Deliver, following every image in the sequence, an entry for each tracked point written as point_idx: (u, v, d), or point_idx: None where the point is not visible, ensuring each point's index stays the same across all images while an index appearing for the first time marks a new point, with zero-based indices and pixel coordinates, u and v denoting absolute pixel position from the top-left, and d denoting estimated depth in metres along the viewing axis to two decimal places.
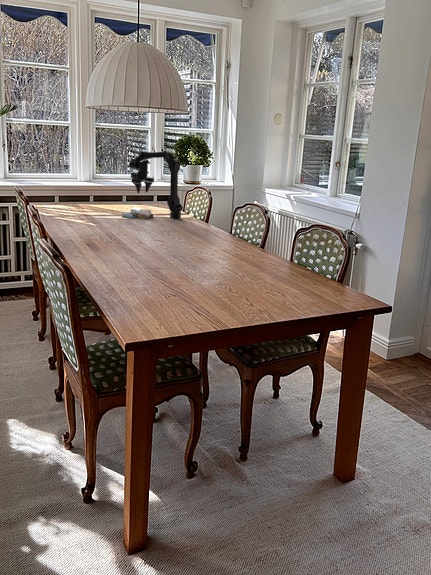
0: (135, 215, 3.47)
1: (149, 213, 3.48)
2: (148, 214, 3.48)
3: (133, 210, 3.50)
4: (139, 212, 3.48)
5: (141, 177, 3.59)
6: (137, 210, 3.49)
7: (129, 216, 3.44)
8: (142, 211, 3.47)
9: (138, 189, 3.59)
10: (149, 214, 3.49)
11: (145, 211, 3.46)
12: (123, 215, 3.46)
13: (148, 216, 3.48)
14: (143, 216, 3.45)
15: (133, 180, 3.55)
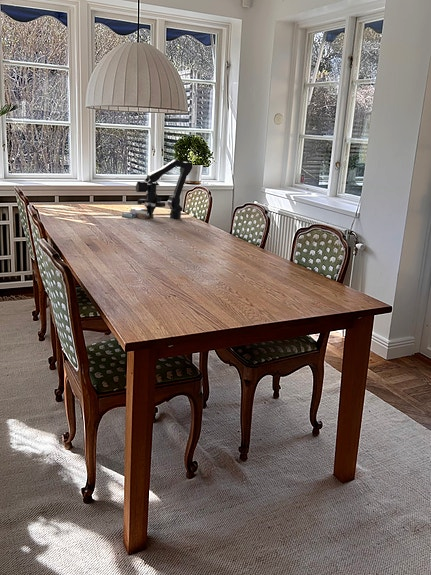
0: (135, 215, 3.47)
1: (148, 213, 3.49)
2: (148, 214, 3.48)
3: (133, 209, 3.51)
4: (139, 211, 3.49)
5: None
6: (137, 209, 3.50)
7: (129, 216, 3.44)
8: (142, 210, 3.48)
9: None
10: None
11: (145, 210, 3.47)
12: (123, 215, 3.46)
13: (147, 216, 3.49)
14: (143, 216, 3.45)
15: None
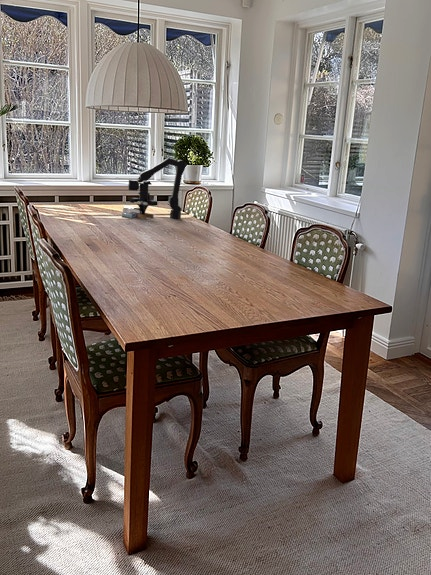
0: (135, 215, 3.47)
1: (141, 212, 3.52)
2: (140, 212, 3.51)
3: (125, 208, 3.54)
4: (132, 210, 3.51)
5: None
6: (129, 208, 3.52)
7: (129, 216, 3.44)
8: (134, 209, 3.51)
9: None
10: (141, 213, 3.52)
11: (137, 209, 3.50)
12: (123, 215, 3.46)
13: None
14: (143, 216, 3.45)
15: None
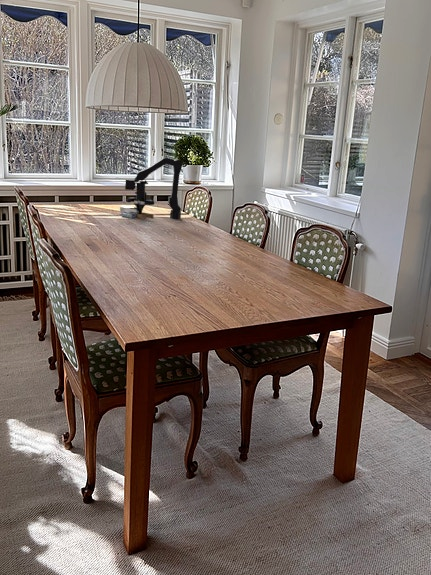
0: (135, 215, 3.47)
1: None
2: (137, 212, 3.52)
3: (122, 208, 3.55)
4: (129, 209, 3.52)
5: None
6: (126, 208, 3.54)
7: (129, 216, 3.44)
8: (131, 209, 3.52)
9: None
10: (138, 212, 3.53)
11: (134, 209, 3.51)
12: (123, 215, 3.46)
13: None
14: (143, 216, 3.45)
15: None
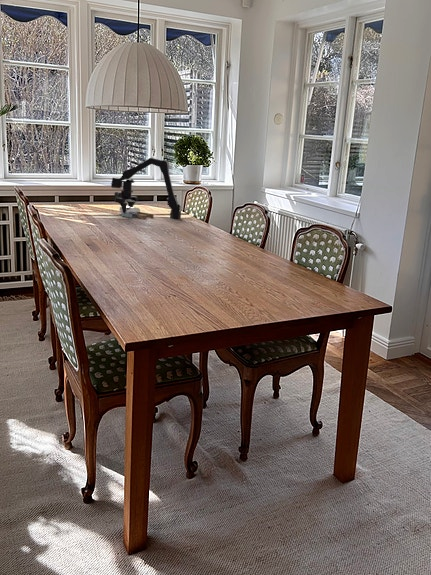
0: (135, 215, 3.47)
1: (137, 211, 3.53)
2: (137, 212, 3.52)
3: None
4: (128, 210, 3.52)
5: (125, 196, 3.51)
6: (126, 208, 3.53)
7: (129, 216, 3.44)
8: (131, 209, 3.52)
9: (123, 208, 3.52)
10: (138, 212, 3.53)
11: (134, 209, 3.51)
12: (123, 215, 3.46)
13: None
14: (143, 216, 3.45)
15: (116, 200, 3.47)
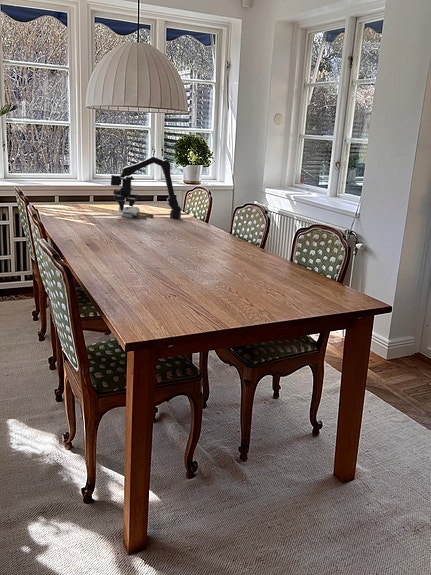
0: None
1: (137, 210, 3.44)
2: (136, 211, 3.43)
3: None
4: (127, 209, 3.44)
5: (124, 194, 3.42)
6: (125, 208, 3.45)
7: (129, 216, 3.44)
8: (130, 208, 3.43)
9: (121, 207, 3.42)
10: (137, 212, 3.44)
11: (133, 208, 3.42)
12: (123, 215, 3.46)
13: (136, 213, 3.44)
14: (143, 216, 3.45)
15: (116, 197, 3.38)
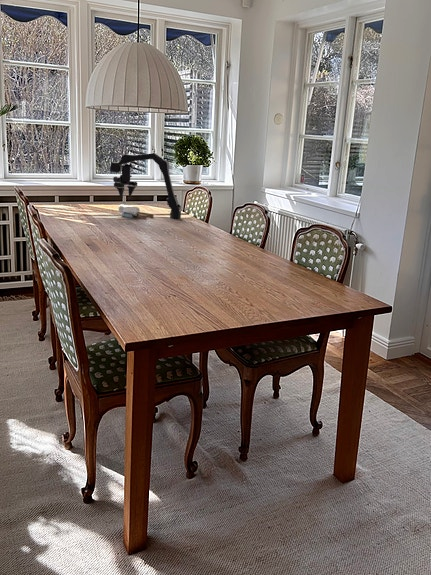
0: None
1: (137, 210, 3.44)
2: (136, 211, 3.43)
3: (121, 208, 3.46)
4: (127, 209, 3.44)
5: (124, 181, 3.50)
6: (125, 208, 3.45)
7: (129, 216, 3.44)
8: (130, 208, 3.43)
9: (121, 193, 3.50)
10: (137, 212, 3.44)
11: (133, 208, 3.42)
12: (123, 215, 3.46)
13: (136, 213, 3.44)
14: (143, 216, 3.45)
15: (115, 184, 3.45)
